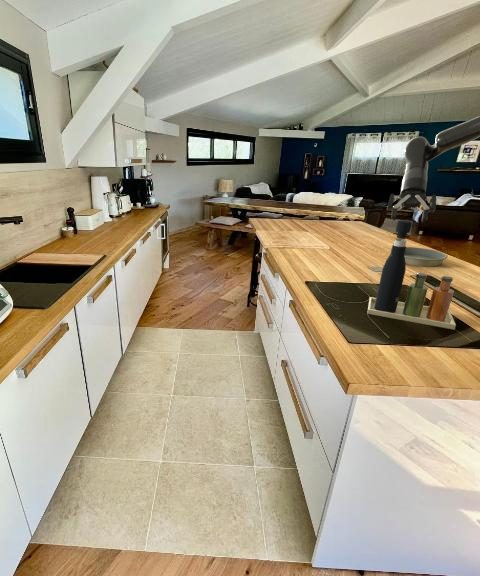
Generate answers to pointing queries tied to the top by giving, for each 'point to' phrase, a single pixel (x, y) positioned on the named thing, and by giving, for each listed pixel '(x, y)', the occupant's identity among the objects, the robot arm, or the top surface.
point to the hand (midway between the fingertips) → (408, 219)
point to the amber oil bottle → (440, 300)
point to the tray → (422, 319)
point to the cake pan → (423, 257)
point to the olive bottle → (415, 296)
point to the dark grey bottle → (393, 272)
